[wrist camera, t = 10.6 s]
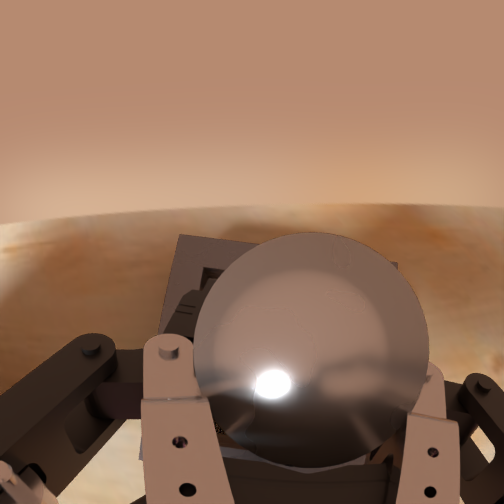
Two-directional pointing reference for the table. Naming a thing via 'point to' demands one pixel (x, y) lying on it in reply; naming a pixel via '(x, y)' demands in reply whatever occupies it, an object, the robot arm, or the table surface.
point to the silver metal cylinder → (311, 350)
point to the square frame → (195, 277)
